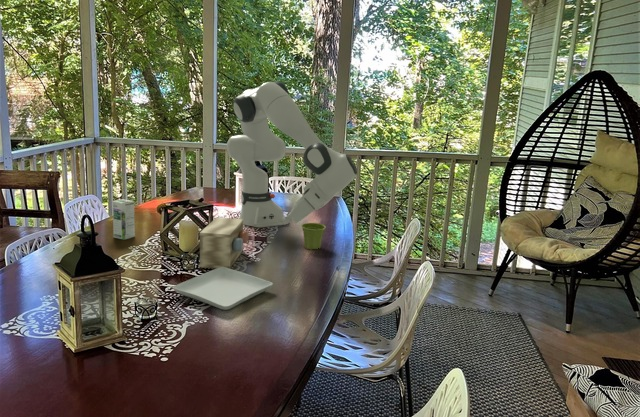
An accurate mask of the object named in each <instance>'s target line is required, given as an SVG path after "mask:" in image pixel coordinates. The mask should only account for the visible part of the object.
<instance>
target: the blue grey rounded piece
mask: <svg viewBox="0 0 640 417" xmlns="http://www.w3.org/2000/svg"><path fill="white" fill-rule="evenodd" d="M232 247H233V250H234V251H242V248H243V247H244V243H243V239H242V238H234V241H233V242H232ZM243 249H244V248H243ZM242 252H243V251H242Z"/></svg>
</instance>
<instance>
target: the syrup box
mask: <svg viewBox="0 0 640 417" xmlns="http://www.w3.org/2000/svg"><path fill="white" fill-rule="evenodd" d="M112 222H113V226H112V227H113V238H114V239H118V240H123V241H125V240H129V239H133V238H135V237H136V233H135V232H136V228H135V227H136V224H135V200H128V199H122V198H121V199H116V200H113V201H112Z"/></svg>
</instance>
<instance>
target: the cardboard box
mask: <svg viewBox="0 0 640 417" xmlns="http://www.w3.org/2000/svg"><path fill="white" fill-rule="evenodd" d="M240 231H244V225H243V219H239V218H227V217H215V218H214V219H213V220H212V221H211V222H210V223H209V224H207V225H206V227H204V228H203V229H202V230H201V231H200V232H199V267H200V268H204V269H205V268H207V269H217V268H220V267H226V268H229V269H232V267H233V265H234V264H235V262H236V261H237V260H238V258H239V257H240V255H241V254H242V253H243V250H244V248H242V251H234V250H233V247H232V242H233V241H234V238H238V235H239V234H240Z"/></svg>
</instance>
